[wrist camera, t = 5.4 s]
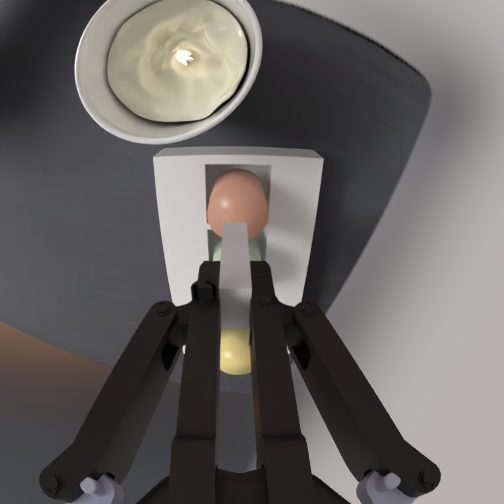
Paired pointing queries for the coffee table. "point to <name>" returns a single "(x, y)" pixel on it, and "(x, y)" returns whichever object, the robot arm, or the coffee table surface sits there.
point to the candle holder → (167, 66)
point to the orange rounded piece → (238, 202)
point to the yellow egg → (235, 351)
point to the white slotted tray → (278, 201)
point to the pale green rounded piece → (253, 250)
